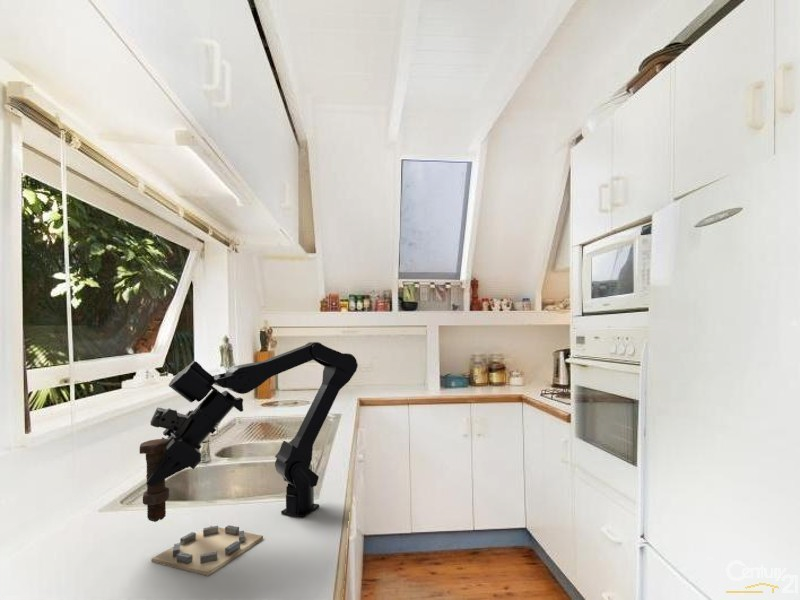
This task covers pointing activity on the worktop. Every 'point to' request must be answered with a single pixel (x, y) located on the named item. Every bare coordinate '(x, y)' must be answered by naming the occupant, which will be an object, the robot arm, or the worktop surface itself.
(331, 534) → the worktop surface
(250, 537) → the tan flat square board
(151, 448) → the bolt
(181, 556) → the castellated ring
